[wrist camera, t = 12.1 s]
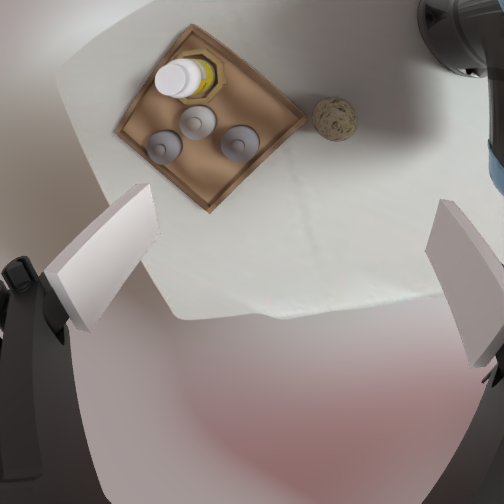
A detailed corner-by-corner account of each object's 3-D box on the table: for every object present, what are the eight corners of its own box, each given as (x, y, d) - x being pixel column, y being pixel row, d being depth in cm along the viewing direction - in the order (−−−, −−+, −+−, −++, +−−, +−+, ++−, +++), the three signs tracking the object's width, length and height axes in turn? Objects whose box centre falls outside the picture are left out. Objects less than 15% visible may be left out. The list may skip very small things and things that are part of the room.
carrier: (197, 25, 31) (184, 21, 27) (307, 117, 37) (308, 123, 34) (122, 129, 43) (105, 136, 39) (214, 207, 49) (205, 221, 45)
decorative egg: (327, 141, 39) (333, 160, 31) (303, 109, 37) (302, 119, 29) (359, 121, 36) (375, 135, 28) (336, 87, 34) (346, 91, 26)
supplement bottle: (187, 98, 37) (157, 107, 29) (176, 67, 34) (142, 69, 26) (221, 86, 35) (197, 91, 28) (209, 54, 33) (182, 50, 25)
